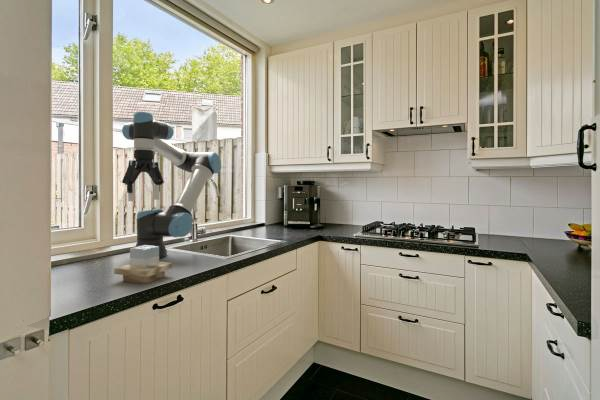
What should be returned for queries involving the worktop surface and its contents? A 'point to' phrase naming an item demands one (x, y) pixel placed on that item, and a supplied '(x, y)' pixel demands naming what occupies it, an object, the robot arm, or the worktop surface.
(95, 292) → the worktop surface
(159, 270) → the stand
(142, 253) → the housing
